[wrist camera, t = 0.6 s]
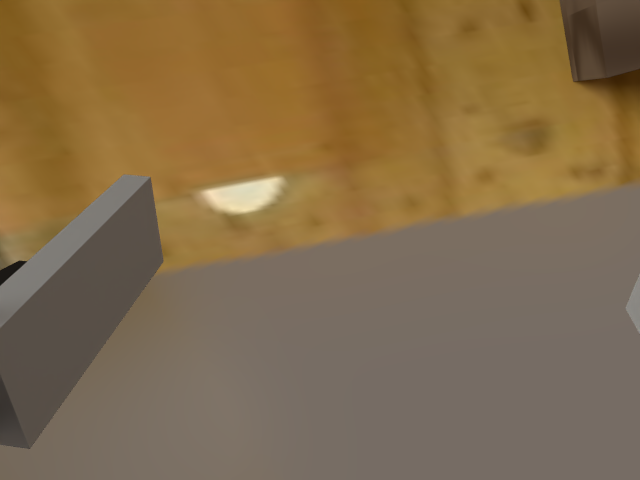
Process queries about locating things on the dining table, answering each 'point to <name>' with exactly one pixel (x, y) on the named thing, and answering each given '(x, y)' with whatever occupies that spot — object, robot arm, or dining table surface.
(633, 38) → the socket block
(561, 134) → the dining table surface
